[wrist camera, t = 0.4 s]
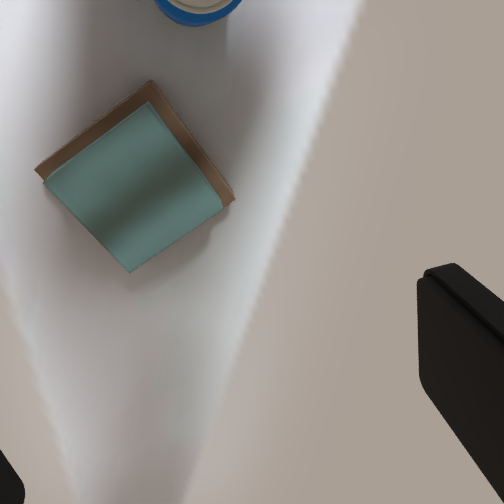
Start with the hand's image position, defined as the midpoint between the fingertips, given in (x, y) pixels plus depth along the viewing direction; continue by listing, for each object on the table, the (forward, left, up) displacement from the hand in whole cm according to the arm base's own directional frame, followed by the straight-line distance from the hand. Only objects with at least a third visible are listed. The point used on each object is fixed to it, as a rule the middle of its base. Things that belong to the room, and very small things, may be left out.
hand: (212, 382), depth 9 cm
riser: (+2, -6, -33) cm, 34 cm away
